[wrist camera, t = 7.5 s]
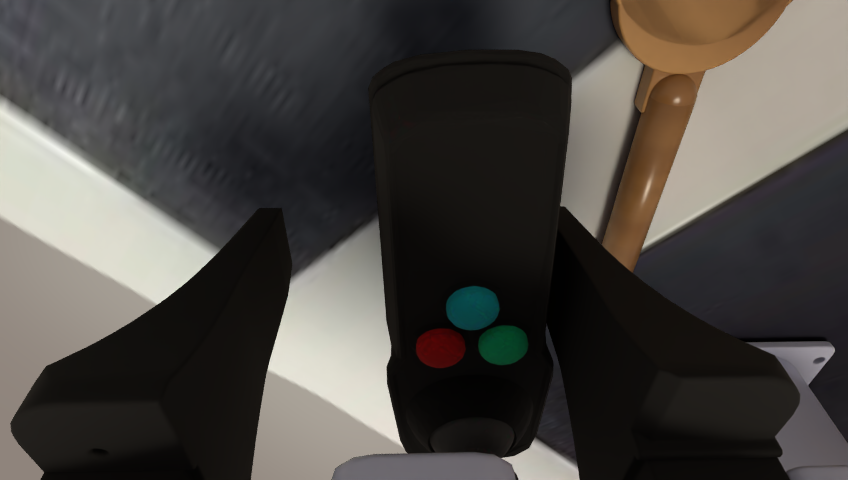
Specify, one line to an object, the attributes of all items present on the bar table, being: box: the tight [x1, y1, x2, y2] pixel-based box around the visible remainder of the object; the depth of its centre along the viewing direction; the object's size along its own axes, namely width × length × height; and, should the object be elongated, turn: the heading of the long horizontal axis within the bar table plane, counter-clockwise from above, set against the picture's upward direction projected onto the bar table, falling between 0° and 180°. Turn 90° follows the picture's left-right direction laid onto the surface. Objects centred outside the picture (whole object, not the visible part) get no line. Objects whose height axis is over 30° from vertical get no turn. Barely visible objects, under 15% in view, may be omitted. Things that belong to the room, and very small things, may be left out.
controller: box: [368, 50, 572, 480], centre depth 15 cm, size 4×12×10 cm, turn 2°
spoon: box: [602, 0, 793, 273], centre depth 17 cm, size 17×6×1 cm, turn 179°
